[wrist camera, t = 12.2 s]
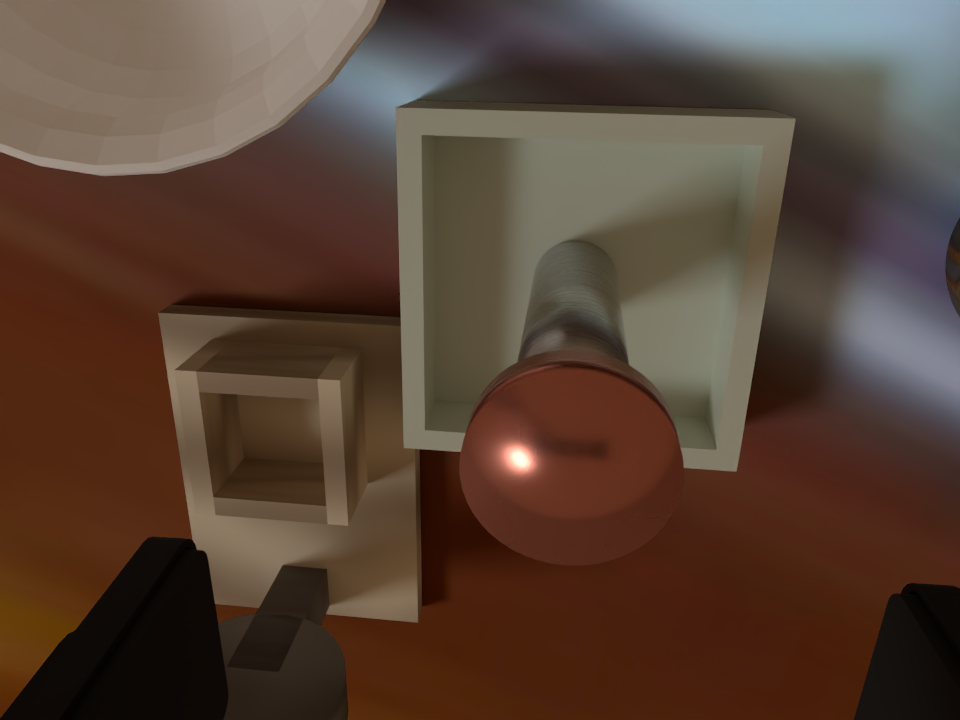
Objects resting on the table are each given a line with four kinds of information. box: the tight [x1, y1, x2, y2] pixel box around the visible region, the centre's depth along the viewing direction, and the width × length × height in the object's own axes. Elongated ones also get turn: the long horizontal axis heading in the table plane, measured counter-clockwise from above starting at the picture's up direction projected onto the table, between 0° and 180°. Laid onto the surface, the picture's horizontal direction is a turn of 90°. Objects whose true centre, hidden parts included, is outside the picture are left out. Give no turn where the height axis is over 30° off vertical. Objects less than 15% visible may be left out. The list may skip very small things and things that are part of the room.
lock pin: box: [459, 240, 684, 566], centre depth 22 cm, size 5×5×13 cm
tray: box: [396, 100, 796, 471], centre depth 27 cm, size 12×12×3 cm
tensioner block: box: [158, 305, 422, 720], centre depth 28 cm, size 14×10×11 cm
